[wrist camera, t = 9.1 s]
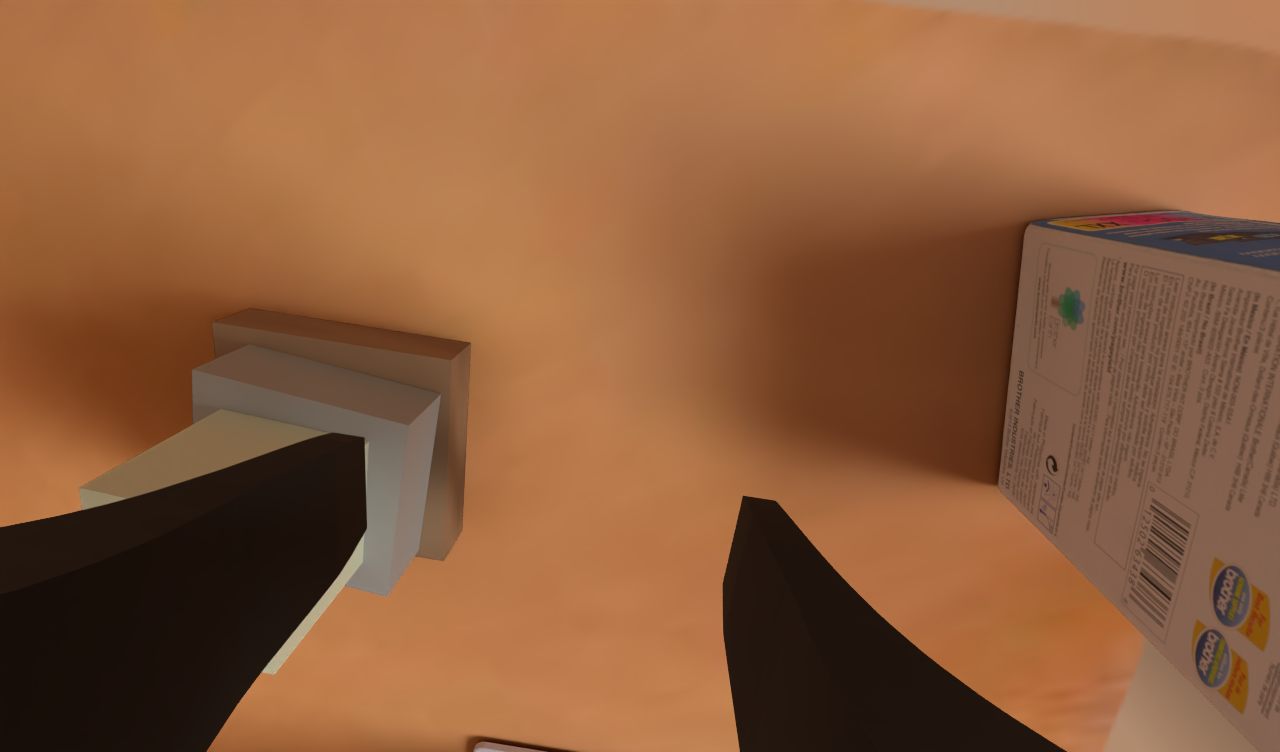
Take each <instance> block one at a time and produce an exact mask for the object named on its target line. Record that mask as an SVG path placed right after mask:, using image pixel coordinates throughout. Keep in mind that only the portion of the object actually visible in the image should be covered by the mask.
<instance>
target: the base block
mask: <svg viewBox="0 0 1280 752" xmlns="http://www.w3.org/2000/svg"><path fill="white" fill-rule="evenodd" d="M212 330H213V339H214V348H215V357H216V359H217V358H219V357H221V356H224V355H226V354H228V353H231V352H233V351H235V350H237V349H240V348H242V347H244V346H247V345H249V344H252V345H255V346H259V347H263V348H267V349H271V350H275V351H278V352H282V353H286V354H290V355H294V356H298V357H302V358H305V359H309V360H313V361H317V362H321V363H325V364H328V365H332V366H336V367H340V368H344V369H348V370H351V371H355V372H359V373H363V374H367V375H371V376H374V377H378V378H382V379H386V380H390V381H394V382H397V383H401V384H405V385H409V386H413V387H417V388H421V389H424V390H428V391H432V392H436V393H440V394H441V399H440V406H439V413H438V420H437V427H436V433H435V440H434V447H433V454H432V461H431V468H430V475H429V482H428V489H427V496H426V503H425V510H424V517H423V524H422V531H421V537H420V544H419V551H418V552H417V554H416V555H415V556H416V557H422V558H428V559H434V560H440V561H444V560H445V559H446V557H447V555H448V554H449V552H450V550H451V549H452V547H453V545H454V544H455V542H456V540H457V538H458V537H459V535H460V533H461V532H462V527H463V505H464V483H465V461H466V440H467V418H468V396H469V375H470V353H471V343H467V342H461V341H455V340H448V339H442V338H436V337H429V336H423V335H417V334H410V333H404V332H398V331H391V330H385V329H379V328H372V327H366V326H360V325H353V324H347V323H341V322H334V321H328V320H322V319H315V318H309V317H303V316H296V315H290V314H284V313H277V312H271V311H265V310H258V309H252V308H250V309H248V310H245V311H242V312H239V313H236V314H233V315H231V316H228V317H225V318H222V319H219V320H216V321H213V322H212Z"/></svg>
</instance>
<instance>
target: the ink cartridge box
mask: <svg viewBox="0 0 1280 752" xmlns="http://www.w3.org/2000/svg"><path fill="white" fill-rule="evenodd" d="M998 488H999V490H1000V491H1001V493H1002V494H1003V495H1004V496H1005V497H1006V498H1007V499H1008V500H1009V501H1010V502H1012V503H1013V505H1014V506H1015V507H1016V508H1017V509H1018V510H1019V511H1020V512H1021V513H1022V514H1023V515H1024V516H1025V517H1026V518H1027V519H1028V520H1029V521H1030V522H1031V523H1032V524H1033V525H1034V526H1035V527H1036V528H1037V529H1038V530H1039V531H1040V532H1041V533H1042V534H1043V535H1044V536H1045V537H1046V538H1047V539H1048V540H1049V541H1050V542H1051V543H1052V544H1053V545H1054V546H1055V547H1056V548H1057V549H1058V550H1059V551H1060V552H1061V553H1062V554H1063V555H1064V556H1065V557H1066V558H1067V559H1068V560H1069V561H1070V562H1071V563H1072V564H1073V565H1074V566H1075V567H1076V568H1077V569H1078V570H1079V571H1080V572H1081V573H1082V574H1083V575H1084V576H1085V577H1086V578H1087V579H1088V580H1089V581H1090V582H1091V583H1092V584H1093V585H1094V586H1095V587H1096V588H1097V589H1098V590H1099V591H1100V592H1101V593H1102V594H1103V595H1104V596H1105V597H1106V598H1107V599H1108V600H1109V601H1110V602H1111V603H1112V604H1113V605H1114V606H1115V607H1116V608H1117V609H1118V610H1119V611H1120V612H1121V613H1122V614H1123V615H1124V616H1125V617H1126V618H1127V619H1128V620H1129V621H1130V622H1131V623H1132V624H1133V625H1134V626H1135V627H1136V628H1137V629H1138V630H1139V631H1140V632H1141V633H1142V634H1143V635H1144V636H1145V637H1146V638H1147V639H1148V640H1149V641H1150V642H1151V643H1152V644H1153V645H1154V646H1155V647H1156V648H1157V649H1158V650H1159V651H1160V652H1161V653H1162V654H1163V655H1164V656H1165V657H1166V658H1167V659H1168V660H1169V661H1170V662H1171V663H1172V664H1173V665H1174V666H1175V667H1176V668H1177V669H1178V670H1179V671H1180V672H1181V673H1182V674H1183V675H1184V676H1185V677H1186V678H1187V679H1188V680H1189V681H1190V682H1191V683H1192V684H1193V685H1194V686H1195V687H1196V688H1197V689H1198V690H1199V691H1200V692H1201V693H1202V694H1203V695H1204V696H1205V697H1206V698H1207V699H1208V700H1209V701H1210V702H1211V703H1212V704H1213V705H1214V706H1215V707H1216V708H1217V709H1218V710H1219V711H1220V712H1221V713H1222V714H1223V715H1224V716H1225V717H1226V718H1227V719H1228V720H1229V722H1231V724H1232V725H1233V726H1234V727H1235V728H1236V729H1237V730H1238V731H1239V732H1240V733H1241V734H1242V735H1243V736H1244V737H1245V738H1247V740H1248V741H1249V742H1250V743H1251V744H1252V745H1253V746H1254V747H1255V748H1256V749H1257V750H1258V751H1259V752H1280V223H1274V222H1266V221H1257V220H1247V219H1237V218H1228V217H1219V216H1211V215H1204V214H1198V213H1193V212H1189V211H1178V210H1171V211H1152V212H1139V213H1125V214H1111V215H1098V216H1084V217H1071V218H1059V219H1049V220H1040V221H1034V222H1031V223H1030V224H1029V225H1028V227H1027V228H1026V230H1025V234H1024V242H1023V253H1022V262H1021V272H1020V281H1019V291H1018V301H1017V310H1016V319H1015V329H1014V338H1013V347H1012V356H1011V366H1010V376H1009V385H1008V394H1007V405H1006V415H1005V424H1004V433H1003V443H1002V454H1001V464H1000V472H999V481H998Z"/></svg>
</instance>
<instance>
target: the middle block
mask: <svg viewBox="0 0 1280 752" xmlns="http://www.w3.org/2000/svg"><path fill="white" fill-rule="evenodd" d="M440 399H441V394H440V393H436V392H432V391H428V390H424V389H421V388H417V387H413V386H409V385H405V384H401V383H397V382H394V381H390V380H386V379H382V378H378V377H374V376H371V375H367V374H363V373H359V372H355V371H351V370H348V369H344V368H340V367H336V366H332V365H328V364H325V363H321V362H317V361H313V360H309V359H305V358H302V357H298V356H294V355H290V354H286V353H282V352H278V351H275V350H271V349H267V348H263V347H259V346H255V345H252V344H249V345H247V346H244V347H242V348H240V349H237V350H235V351H233V352H231V353H228V354H226V355H224V356H221V357H219V358H217V359H214V360H212V361H210V362H208V363H205V364H203V365H201V366H198V367H196V368H194V369H192V404H193V424H195V423H197V422H198V421H200V420H202V419H204V418H206V417H207V416H209V415H211V414H213V413H215V412H216V411H218V410H220V409H224V410H229V411H233V412H238V413H243V414H247V415H252V416H256V417H261V418H265V419H270V420H274V421H279V422H283V423H288V424H292V425H297V426H301V427H306V428H310V429H315V430H319V431H324V432H328V433H333V432H334V433H340V434H347V435H353V436H360V437H365V441H369V451H368V471H367V490H366V505H367V530H366V531H365V533H364V547H363V563H362V564H361V565H360V566H359V568H358V569H357V570H356V572H355V573H354V574H353V575H352V577H351V578H350V579H349V580H348V582H347V583H346V584H345V586H347V587H351V588H355V589H358V590H362V591H366V592H370V593H374V594H378V595H382V596H386V597H388V595H389V594H390V592H391V591H392V589H393V588H394V586H395V585H396V583H397V582H398V580H399V579H400V577H401V576H402V574H403V573H404V571H405V570H406V568H407V567H408V565H409V564H410V562H411V561H412V560H413V558H414V557H415V555H416V554H417V552H418V551H419V544H420V537H421V531H422V524H423V517H424V510H425V503H426V496H427V489H428V482H429V475H430V468H431V461H432V454H433V447H434V440H435V433H436V427H437V420H438V413H439V406H440Z"/></svg>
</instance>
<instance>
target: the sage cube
mask: <svg viewBox="0 0 1280 752" xmlns="http://www.w3.org/2000/svg"><path fill="white" fill-rule="evenodd" d="M324 434H328V432H324V431H319V430H315V429H310V428H306V427H301V426H297V425H292V424H288V423H283V422H279V421H274V420H270V419H265V418H261V417H256V416H252V415H247V414H243V413H238V412H233V411H229V410H224V409H220V410H218V411H216V412H215V413H213V414H211V415H209V416H207V417H206V418H204V419H202V420H200V421H198V422H197V423H195V424H193V425H191V426H189V427H187V428H186V429H184V430H182V431H180V432H178V433H177V434H175V435H173V436H171V437H169V438H168V439H166V440H164V441H162V442H160V443H159V444H157V445H155V446H153V447H151V448H150V449H148V450H146V451H144V452H142V453H141V454H139V455H137V456H135V457H133V458H132V459H130V460H128V461H126V462H124V463H123V464H121V465H119V466H117V467H115V468H114V469H112V470H110V471H108V472H106V473H105V474H103V475H101V476H99V477H97V478H96V479H94V480H92V481H90V482H88V483H86V484H85V485H83V486H81V487H79V493H80V499H81V506H82V510H85V509H89V508H93V507H97V506H101V505H105V504H109V503H113V502H117V501H120V500H124V499H128V498H131V497H135V496H138V495H142V494H145V493H149V492H152V491H155V490H159V489H162V488H165V487H168V486H171V485H174V484H177V483H180V482H183V481H187V480H190V479H193V478H196V477H199V476H202V475H205V474H208V473H211V472H215V471H218V470H221V469H224V468H226V467H229V466H232V465H235V464H238V463H241V462H243V461H246V460H249V459H252V458H255V457H258V456H260V455H263V454H266V453H269V452H272V451H275V450H277V449H280V448H283V447H286V446H289V445H292V444H295V443H298V442H301V441H304V440H307V439H310V438H313V437H317V436H320V435H324ZM368 451H369V441H365V470H366V490H367V471H368ZM363 547H364V535H363V537H362V538H361V540H360V542H359V544H358V545H357V547H356V549H355V551H354V552H353V554H352V556H351V557H350V559H349V560H348V562H347V564H346V565H345V567H344V568H343V570H342V572H341V573H340V575H339V576H338V577H337V579H336V580H335V581H334V582H333V584H332V585H331V586H330V588H329V589H328V590H327V591H326V593H325V594H324V595H323V596H322V598H321V599H320V600H319V601H318V603H317V604H316V605H315V606H314V608H313V609H312V610H311V611H310V613H309V614H308V615H307V616H306V618H305V619H304V620H303V621H302V623H301V624H300V625H299V626H298V628H297V629H296V630H295V631H294V632H293V634H292V635H291V636H290V637H289V639H288V640H287V641H286V642H285V644H284V645H283V646H282V647H281V649H280V650H279V651H278V652H277V654H276V655H275V656H274V657H273V658H272V660H271V661H270V662H269V663H268V665H267V666H266V667H265V668H264V670H263V671H262V672H264V673H269V674H273V675H275V673H276V672H277V671H278V669H279V668H280V667H281V666H282V664H283V663H284V662H285V661H286V659H287V658H288V657H289V655H290V654H291V653H292V652H293V650H294V649H295V648H296V647H297V645H298V644H299V643H300V641H301V640H302V639H303V638H304V636H305V635H306V634H307V633H308V631H309V630H310V629H311V628H312V626H313V625H314V624H315V622H316V621H317V620H318V619H319V617H320V616H321V615H322V614H323V612H324V611H325V610H326V608H327V607H328V606H329V605H330V603H331V602H332V601H333V600H334V598H335V597H336V596H337V594H338V593H339V592H340V591H341V589H342V588H343V587H344V586H345V584H346V583H347V582H348V580H349V579H350V578H351V577H352V575H353V574H354V573H355V572H356V570H357V569H358V568H359V566H360V565H361V564H362V563H363Z"/></svg>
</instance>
